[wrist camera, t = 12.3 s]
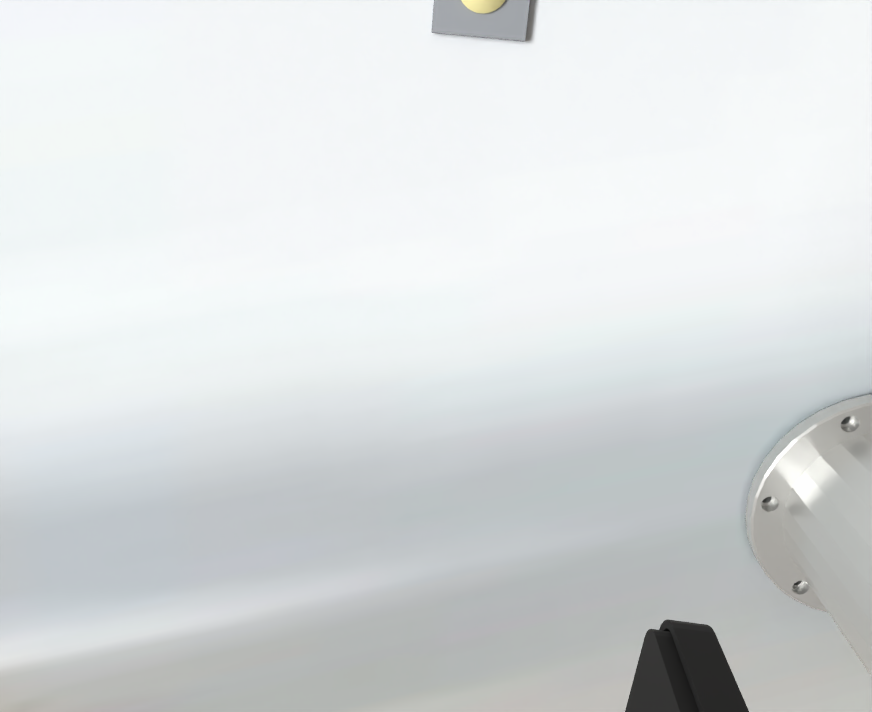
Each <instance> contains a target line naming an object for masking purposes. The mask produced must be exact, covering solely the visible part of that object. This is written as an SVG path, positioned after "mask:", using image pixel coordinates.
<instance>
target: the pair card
mask: <svg viewBox="0 0 872 712" xmlns="http://www.w3.org/2000/svg"><path fill="white" fill-rule="evenodd" d="M529 4H530V0H434V8H433V21H432V33H443V34H453V35H464V36H475V37H485V38H496V39H507V40H517V41H525V38H526V29H527V21H528V13H529Z"/></svg>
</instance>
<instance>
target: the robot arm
mask: <svg viewBox="0 0 872 712" xmlns="http://www.w3.org/2000/svg"><path fill="white" fill-rule="evenodd" d="M844 418H845V419H844ZM745 522H746V529H747V537H748V540H749V543H750V545H751V548H752V550H753V553H754V556H755V557H756V559H757V560H758V562H759V564H760V565H761V567H762V569H763V570H764V572H765V574H766V575H767V576H768V577H769V578H770V579H771V580H772V582H773V583H774V584H775V585H776V586H777V587H778V588H779V589H780V590H781V591H783V592H784V593H785V594H787V595H788V596H789V597H791V598H792V599H794V600H796V601H798V602H800V603H802V604H804V605H806V606H809V607H811V608H813V609H817V610H821V611H824V612H828V613H829V614H830V616H831V617H832V619H833V620H834V622H835V623H836V625H837V626H838V628H839V629H840V631H841V632H842V634H843V635H844V637H845V638H846V640H847V641H848V643H849V644H850V646H851V647H852V649H853V650H854V652H855V653H856V654H857V656H858V657H859V659H860V660H861V662H862V663H863V665H864V666H865V668H866V669H867V671H868V672H869V674H870V675H871V677H872V394H869V395H865V396H860V397H856V398H852V399H848V400H844V401H841V402H839V403H837V404H834V405H832V406H830V407H827V408H825V409H822V410H820V411H818V412H817V413H815V414H813V415H812V416H810V417H809V418H807V419H805V420H804V421H802V422H801V423H799V424H797V425H796V426H795V427H794V428H793V429H792V430H791V431H789V432H788V433H787V434H786V435H785V436H784V437H783V438H781V439H780V440H779V441H778V442H777V444H776V445H775V446H774V447H773V449H772V450H771V451H770V452H769V453H768V455H767V456H766V457H765V458H764V460H763V462H762V464H761V465H760V467H759V469H758V471H757V473H756V475H755V476H754V478H753V481H752V484H751V488H750V491H749V494H748V497H747V504H746V514H745ZM625 712H749V711H748V708H747V706H746V704H745V701H744V699H743V697H742V695H741V692H740V690H739V688H738V685H737V683H736V681H735V678H734V676H733V674H732V672H731V669H730V667H729V665H728V662H727V660H726V658H725V655H724V653H723V651H722V648H721V646H720V644H719V642H718V639H717V637H716V635H715V633H714V631H713V629H712V628H711V627H710V626H708V625H704V624H696V623H689V622H681V621H674V620H665V621H664V622H663V623H662V624H661V627H660V629H659V630H654V629H650V630H648V631H647V633H646V636H645V638H644V642H643V646H642V650H641V654H640V657H639V661H638V665H637V669H636V673H635V676H634V680H633V684H632V688H631V692H630V695H629V699H628V703H627V707H626V711H625Z"/></svg>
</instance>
